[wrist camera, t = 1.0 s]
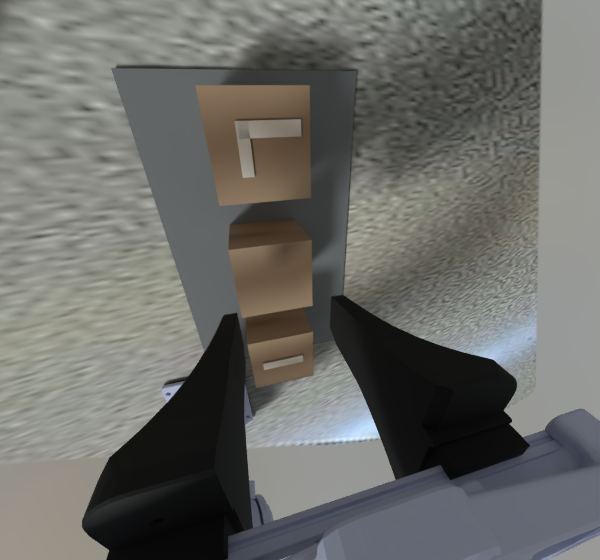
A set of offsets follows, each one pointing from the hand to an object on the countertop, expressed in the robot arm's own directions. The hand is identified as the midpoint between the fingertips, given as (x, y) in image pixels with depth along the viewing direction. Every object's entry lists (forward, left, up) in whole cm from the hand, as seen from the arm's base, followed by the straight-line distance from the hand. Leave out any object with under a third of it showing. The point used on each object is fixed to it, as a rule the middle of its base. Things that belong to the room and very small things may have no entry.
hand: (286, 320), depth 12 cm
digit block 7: (+8, 0, -9) cm, 12 cm away
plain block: (0, 0, -9) cm, 9 cm away
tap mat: (0, 0, -9) cm, 9 cm away
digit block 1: (-7, 0, -9) cm, 12 cm away
